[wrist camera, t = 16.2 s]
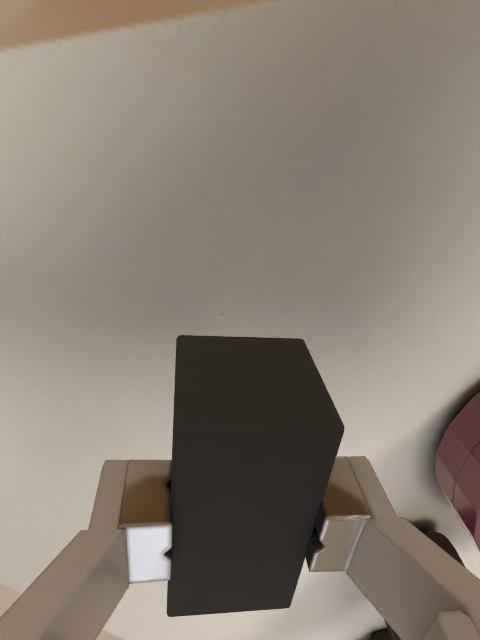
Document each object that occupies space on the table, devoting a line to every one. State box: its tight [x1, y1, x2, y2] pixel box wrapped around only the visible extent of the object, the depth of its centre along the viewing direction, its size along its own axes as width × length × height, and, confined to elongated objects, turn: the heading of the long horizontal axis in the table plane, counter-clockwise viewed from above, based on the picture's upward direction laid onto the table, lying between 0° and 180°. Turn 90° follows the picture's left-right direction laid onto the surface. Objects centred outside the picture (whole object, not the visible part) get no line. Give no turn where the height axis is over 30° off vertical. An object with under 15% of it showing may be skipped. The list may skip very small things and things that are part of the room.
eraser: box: [167, 335, 344, 617], centre depth 10 cm, size 6×3×3 cm, turn 174°
